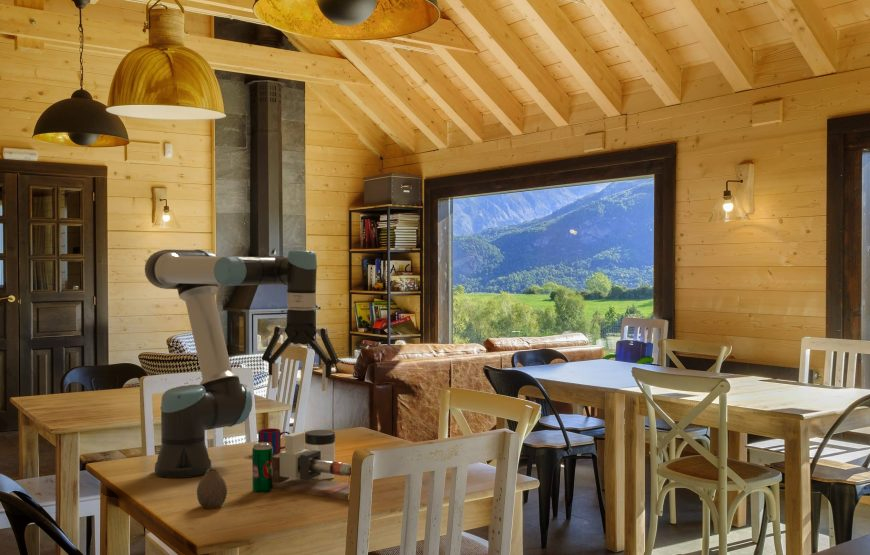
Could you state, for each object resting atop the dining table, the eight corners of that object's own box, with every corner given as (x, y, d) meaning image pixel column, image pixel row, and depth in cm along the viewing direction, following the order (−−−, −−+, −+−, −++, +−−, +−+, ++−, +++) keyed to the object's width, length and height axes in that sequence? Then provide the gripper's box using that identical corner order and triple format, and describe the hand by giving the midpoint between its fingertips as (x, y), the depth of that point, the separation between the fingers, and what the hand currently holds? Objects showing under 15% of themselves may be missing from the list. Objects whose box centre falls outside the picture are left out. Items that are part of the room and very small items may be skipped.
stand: (265, 487, 219) (265, 458, 219) (289, 479, 228) (289, 451, 228) (350, 500, 208) (350, 469, 208) (372, 490, 217) (372, 461, 216)
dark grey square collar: (300, 479, 217) (300, 454, 217) (314, 473, 222) (314, 450, 222) (306, 480, 216) (306, 455, 216) (320, 474, 221) (320, 450, 221)
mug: (260, 450, 264) (260, 428, 264) (292, 450, 264) (292, 428, 264) (256, 454, 257) (256, 432, 257) (289, 454, 258) (289, 432, 257)
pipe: (277, 468, 222) (277, 456, 222) (284, 465, 225) (284, 453, 225) (354, 478, 211) (354, 466, 211) (361, 476, 214) (361, 463, 214)
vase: (199, 512, 198) (199, 474, 197) (195, 504, 204) (194, 468, 204) (229, 509, 200) (229, 471, 200) (224, 501, 207) (224, 465, 207)
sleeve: (279, 476, 220) (279, 435, 220) (294, 471, 225) (294, 431, 225) (295, 478, 217) (295, 437, 217) (309, 473, 223) (309, 432, 223)
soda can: (250, 489, 218) (250, 442, 218) (270, 487, 220) (270, 441, 220) (254, 494, 213) (254, 446, 213) (274, 492, 215) (274, 445, 215)
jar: (311, 481, 226) (311, 436, 225) (298, 475, 232) (298, 431, 232) (341, 477, 230) (341, 433, 230) (328, 471, 237) (328, 428, 237)
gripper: (250, 308, 222) (249, 388, 223) (344, 311, 219) (342, 393, 220) (260, 306, 230) (258, 384, 230) (350, 309, 226) (348, 388, 227)
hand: (299, 388), depth 225 cm, fingers open, 13 cm apart
